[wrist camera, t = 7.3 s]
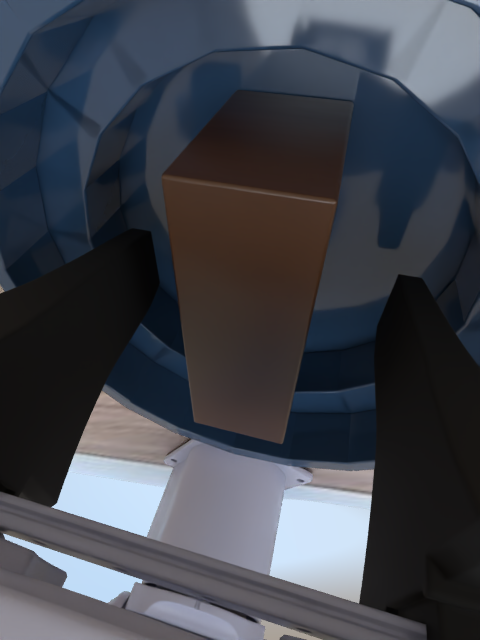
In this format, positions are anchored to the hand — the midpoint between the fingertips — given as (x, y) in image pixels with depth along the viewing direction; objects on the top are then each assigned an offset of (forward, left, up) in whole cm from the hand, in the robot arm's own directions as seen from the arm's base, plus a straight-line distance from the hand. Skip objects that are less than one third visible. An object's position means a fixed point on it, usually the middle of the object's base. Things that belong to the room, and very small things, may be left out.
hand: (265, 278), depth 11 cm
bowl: (0, 0, -3) cm, 3 cm away
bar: (0, 0, -2) cm, 2 cm away
